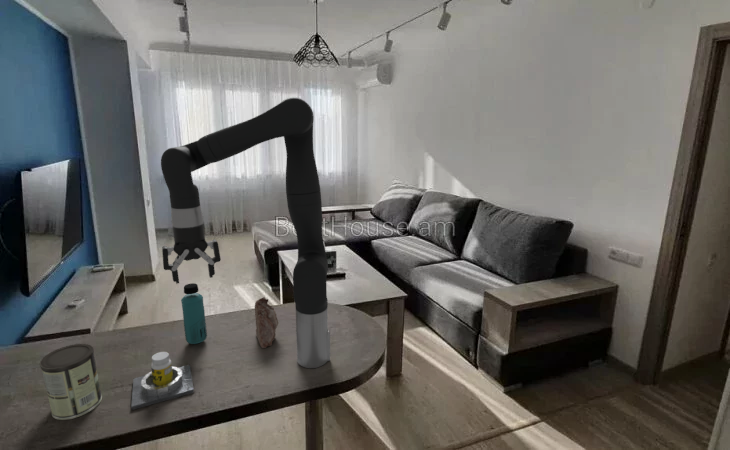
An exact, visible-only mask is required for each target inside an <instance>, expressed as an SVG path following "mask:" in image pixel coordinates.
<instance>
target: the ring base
mask: <svg viewBox="0 0 730 450" xmlns="http://www.w3.org/2000/svg"><path fill="white" fill-rule="evenodd" d="M172 372H173V381H172V382H170V383H169V384H167V385H163V386H159V387H154V385H153V378H152V370H150V372H147V373H146V374H145V375H141V376H138V377H137V376H136V377H135V378H133V379H132V393H131V404H130V405H131V406H130V407H131V411H134V410H137V409H141V408H144V407H148V406H151V405H155V404H158V403H162V402H166V401H169V400H174V399H176V398H179V397H183V396H186V395H190V394H194V392H195V390H194V385H193V378H192V377H193V376H192V372H191V365H190V364H186V365H183V366H182V365H181V366H178V367H177V366H172Z"/></svg>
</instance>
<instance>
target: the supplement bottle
mask: <svg viewBox="0 0 730 450" xmlns="http://www.w3.org/2000/svg"><path fill="white" fill-rule="evenodd" d="M172 365H173V364H172V360H171V358H170V353H168V352H167V351H159V352H156V353H155V354H153V355H152V356H151V365H150V369H151V370H150V371H152V378H153V385H154V387H159V386H163V385H167V384H169V383H170V382H172V381H173V372H172Z"/></svg>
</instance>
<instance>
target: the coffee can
mask: <svg viewBox="0 0 730 450" xmlns="http://www.w3.org/2000/svg"><path fill="white" fill-rule="evenodd" d="M94 351H95V350H94V346H92V345H91V344H86V343H76V344H70V345H66V346H62V347H60V348H58V349H55V350H53V351H51V352H49V353H48V354H46V355H44V357H42V358H41V360H39V361H40V362H39V367H40V369H41V374H42V378H43V381H44V385H45V390H46V394H47V398H48V403H49V407H50V411H51V416H52V418H53V419H55V420H58V421H59V420H60V421H66V420H72V419H73V420H74V419H76V418H78V417H81V416H84V415H86V414H88V413H90V412H91V411H93V410H94V409H96V407H98V405H100V403H101V402H102V399H103V394H102V391H101V385H100V382H99V375H98V371H97V364H96V359H95V354H94Z"/></svg>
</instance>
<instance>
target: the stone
mask: <svg viewBox="0 0 730 450" xmlns="http://www.w3.org/2000/svg"><path fill="white" fill-rule="evenodd" d="M268 303H269V299H268V298H266V297H265V296H263V297H261V298H259V299H258V300H256V301H255V303H254V314H255V316H254V317H255V326H256V329H255V335H256V338H257V341H258V343H259V345H260V348H261V349H266V348H267V347H270V346H272V345H273V341H275V338H276V333H277V332H276V329H277V328H278V326H279V320H278V317H277V313H276V311H275V309H274V307H273V306H272V305H270V304H268Z"/></svg>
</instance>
